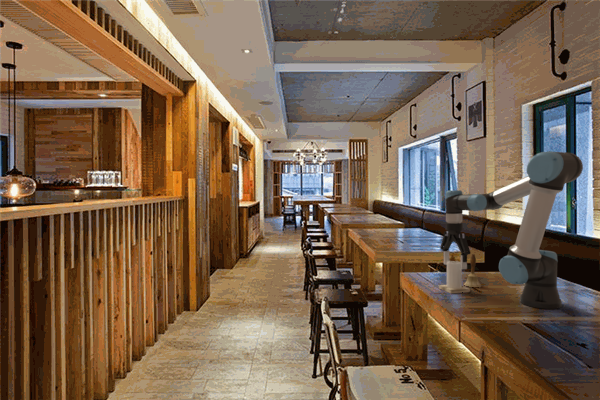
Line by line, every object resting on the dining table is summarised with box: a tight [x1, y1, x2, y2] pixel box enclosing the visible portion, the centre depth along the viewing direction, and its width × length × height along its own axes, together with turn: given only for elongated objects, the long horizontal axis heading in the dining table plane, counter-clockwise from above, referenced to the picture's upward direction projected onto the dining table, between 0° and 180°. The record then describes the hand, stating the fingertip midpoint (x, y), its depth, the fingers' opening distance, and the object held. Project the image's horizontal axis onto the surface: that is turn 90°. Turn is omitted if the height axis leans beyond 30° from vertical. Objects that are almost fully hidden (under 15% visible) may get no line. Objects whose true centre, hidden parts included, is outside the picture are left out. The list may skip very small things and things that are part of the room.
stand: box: [438, 284, 471, 294], centre depth 197 cm, size 10×10×10 cm
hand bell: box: [463, 253, 482, 288], centre depth 206 cm, size 8×8×16 cm
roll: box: [446, 260, 463, 289], centre depth 197 cm, size 7×7×12 cm
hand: (454, 266), depth 197 cm, fingers open, 13 cm apart
